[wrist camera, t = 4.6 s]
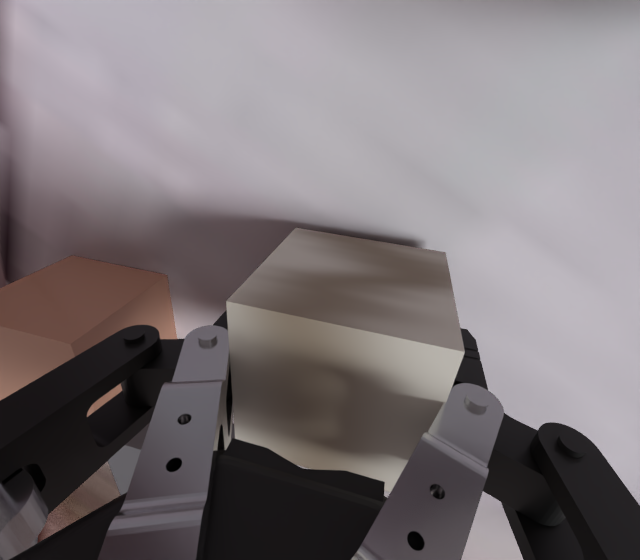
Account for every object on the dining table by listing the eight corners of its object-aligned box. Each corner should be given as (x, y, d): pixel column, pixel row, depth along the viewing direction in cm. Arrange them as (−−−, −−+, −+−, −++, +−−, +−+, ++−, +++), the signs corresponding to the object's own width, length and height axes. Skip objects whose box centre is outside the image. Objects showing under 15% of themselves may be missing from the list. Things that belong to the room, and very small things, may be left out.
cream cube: (445, 252, 12) (464, 351, 7) (412, 369, 15) (410, 498, 10) (295, 227, 13) (225, 301, 8) (290, 341, 16) (235, 446, 11)
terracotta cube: (168, 274, 17) (70, 344, 12) (181, 359, 19) (106, 443, 15) (72, 254, 18) (-53, 312, 13) (98, 338, 20) (2, 411, 15)
